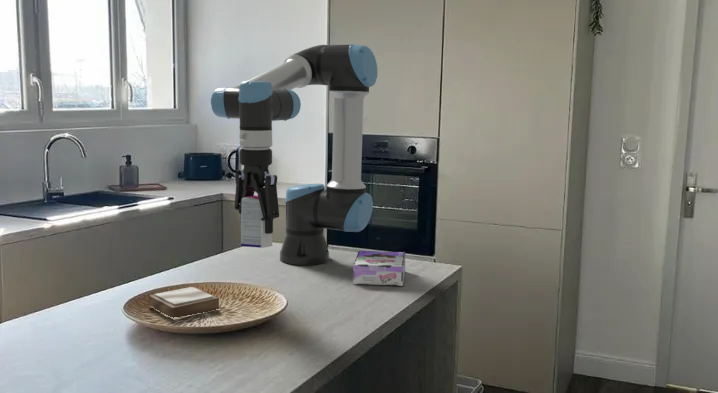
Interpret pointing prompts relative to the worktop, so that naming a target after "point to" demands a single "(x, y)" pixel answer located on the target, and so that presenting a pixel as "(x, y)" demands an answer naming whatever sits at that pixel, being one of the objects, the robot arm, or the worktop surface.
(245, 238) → the supplement box
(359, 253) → the candy box
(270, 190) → the robot arm
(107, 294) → the worktop surface
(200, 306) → the stand
